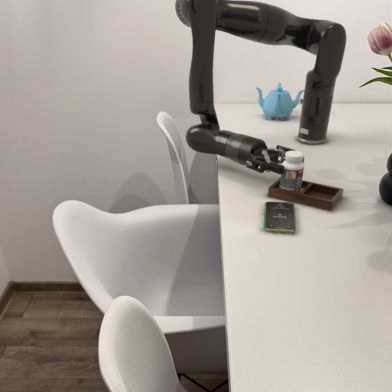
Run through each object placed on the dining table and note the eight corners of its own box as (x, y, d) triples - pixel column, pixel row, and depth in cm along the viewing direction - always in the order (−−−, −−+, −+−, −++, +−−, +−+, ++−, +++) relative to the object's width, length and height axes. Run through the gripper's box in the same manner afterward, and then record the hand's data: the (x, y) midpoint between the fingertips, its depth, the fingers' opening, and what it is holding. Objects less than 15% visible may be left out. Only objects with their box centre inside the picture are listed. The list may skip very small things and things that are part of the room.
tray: (280, 184, 134) (281, 175, 133) (341, 198, 128) (343, 188, 126) (267, 196, 128) (268, 187, 127) (331, 211, 122) (332, 201, 120)
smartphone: (263, 228, 113) (264, 200, 124) (263, 231, 113) (264, 204, 125) (296, 230, 112) (294, 202, 123) (295, 233, 113) (294, 205, 124)
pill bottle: (299, 196, 127) (305, 158, 120) (278, 194, 127) (282, 156, 121) (300, 188, 131) (306, 150, 124) (279, 186, 132) (284, 149, 125)
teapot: (252, 116, 182) (254, 86, 176) (278, 110, 188) (281, 81, 181) (276, 124, 174) (279, 93, 168) (302, 118, 180) (305, 87, 174)
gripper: (229, 142, 127) (278, 158, 118) (263, 130, 135) (311, 144, 126) (227, 170, 132) (274, 188, 123) (260, 157, 140) (307, 172, 131)
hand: (293, 166), depth 125 cm, fingers open, 8 cm apart
